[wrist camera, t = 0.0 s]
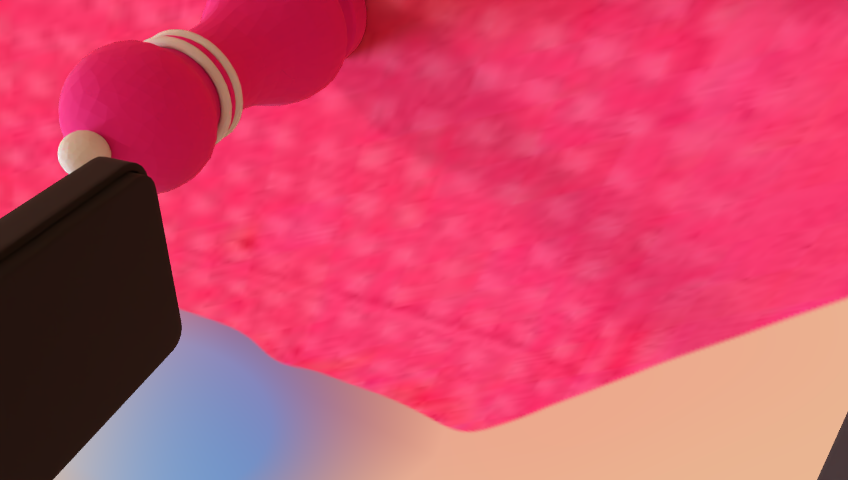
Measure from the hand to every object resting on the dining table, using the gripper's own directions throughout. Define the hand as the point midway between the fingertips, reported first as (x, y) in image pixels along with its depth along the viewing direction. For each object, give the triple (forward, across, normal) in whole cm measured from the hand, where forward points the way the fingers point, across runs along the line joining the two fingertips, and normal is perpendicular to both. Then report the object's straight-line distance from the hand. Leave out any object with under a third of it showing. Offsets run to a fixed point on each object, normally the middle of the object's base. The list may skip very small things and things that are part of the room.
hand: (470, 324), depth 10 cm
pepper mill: (+32, +18, +7) cm, 37 cm away
